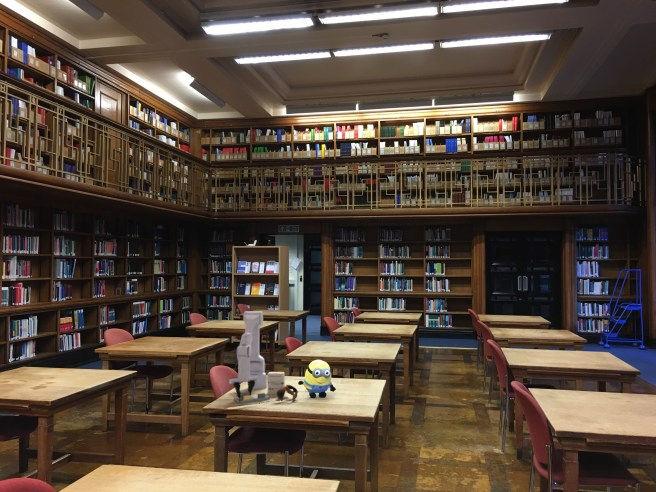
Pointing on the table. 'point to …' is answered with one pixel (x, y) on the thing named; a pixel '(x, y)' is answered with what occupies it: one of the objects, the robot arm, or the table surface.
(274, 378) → the ink box
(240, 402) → the socket panel
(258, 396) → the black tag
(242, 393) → the plug
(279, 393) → the brown curved arch
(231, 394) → the deck
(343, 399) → the table surface
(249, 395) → the brass tag
